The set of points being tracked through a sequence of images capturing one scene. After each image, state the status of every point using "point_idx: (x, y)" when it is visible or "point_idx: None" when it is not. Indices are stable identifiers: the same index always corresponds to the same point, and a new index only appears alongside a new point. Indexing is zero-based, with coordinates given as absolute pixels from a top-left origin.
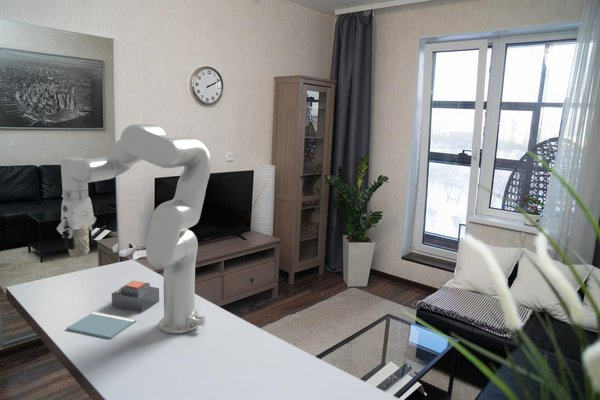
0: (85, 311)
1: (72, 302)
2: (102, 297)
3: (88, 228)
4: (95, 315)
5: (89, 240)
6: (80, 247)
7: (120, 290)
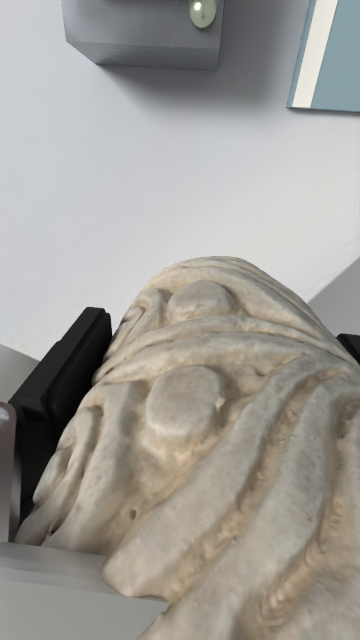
0: (272, 161)
1: (214, 254)
2: (150, 183)
3: (18, 478)
4: (324, 71)
5: (101, 332)
6: (298, 299)
7: (169, 22)
